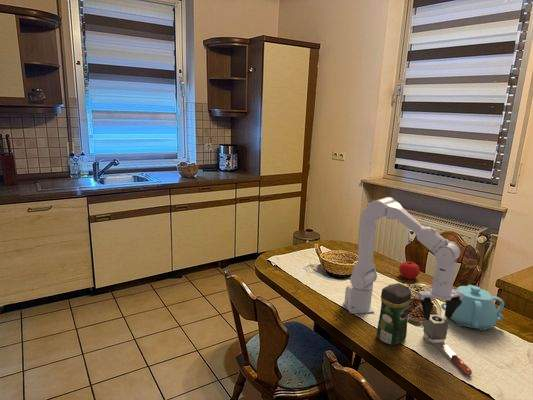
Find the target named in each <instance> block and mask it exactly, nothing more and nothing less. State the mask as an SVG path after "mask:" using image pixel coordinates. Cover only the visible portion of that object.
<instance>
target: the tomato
mask: <svg viewBox="0 0 533 400" xmlns="http://www.w3.org/2000/svg"><path fill="white" fill-rule="evenodd" d="M398 272H399V274H400V275H401V276H402V277H403V278H404V279H408V280H413V279H416V278H417V277H418V276H419V274H420V266H418V264H417V263H416V262H413V261H410V260H407V261H403V262H402V263H401V264H400V265H399V267H398Z"/></svg>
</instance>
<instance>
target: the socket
mask: <svg viewBox="0 0 533 400" xmlns="http://www.w3.org/2000/svg"><path fill="white" fill-rule="evenodd" d="M448 328H449V321H447V320H446V318H444V316H442V315H441V314H430V318H429V320H426V319H425V318H424V324H423V329H422V332H423V333H424V332H425V333H426V334H427V336H428V337H429V338H430V339H431V340H439V339H445V340H447V334H448Z"/></svg>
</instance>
